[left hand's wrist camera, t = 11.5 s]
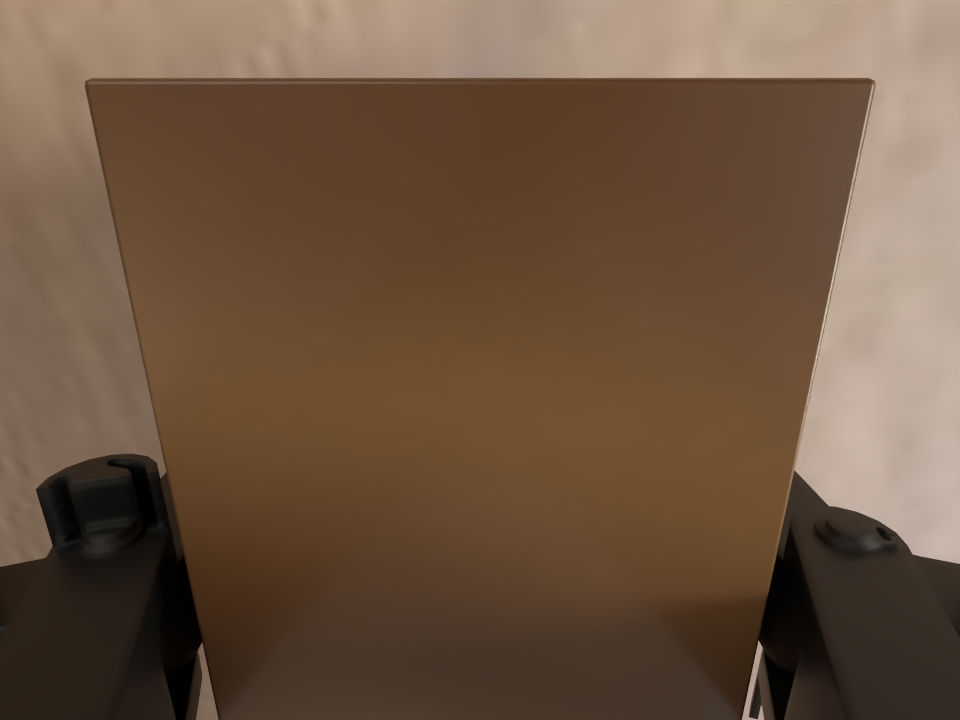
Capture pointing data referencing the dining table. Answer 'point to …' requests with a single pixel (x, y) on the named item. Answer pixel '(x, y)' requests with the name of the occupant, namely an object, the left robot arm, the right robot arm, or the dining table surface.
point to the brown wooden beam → (480, 376)
